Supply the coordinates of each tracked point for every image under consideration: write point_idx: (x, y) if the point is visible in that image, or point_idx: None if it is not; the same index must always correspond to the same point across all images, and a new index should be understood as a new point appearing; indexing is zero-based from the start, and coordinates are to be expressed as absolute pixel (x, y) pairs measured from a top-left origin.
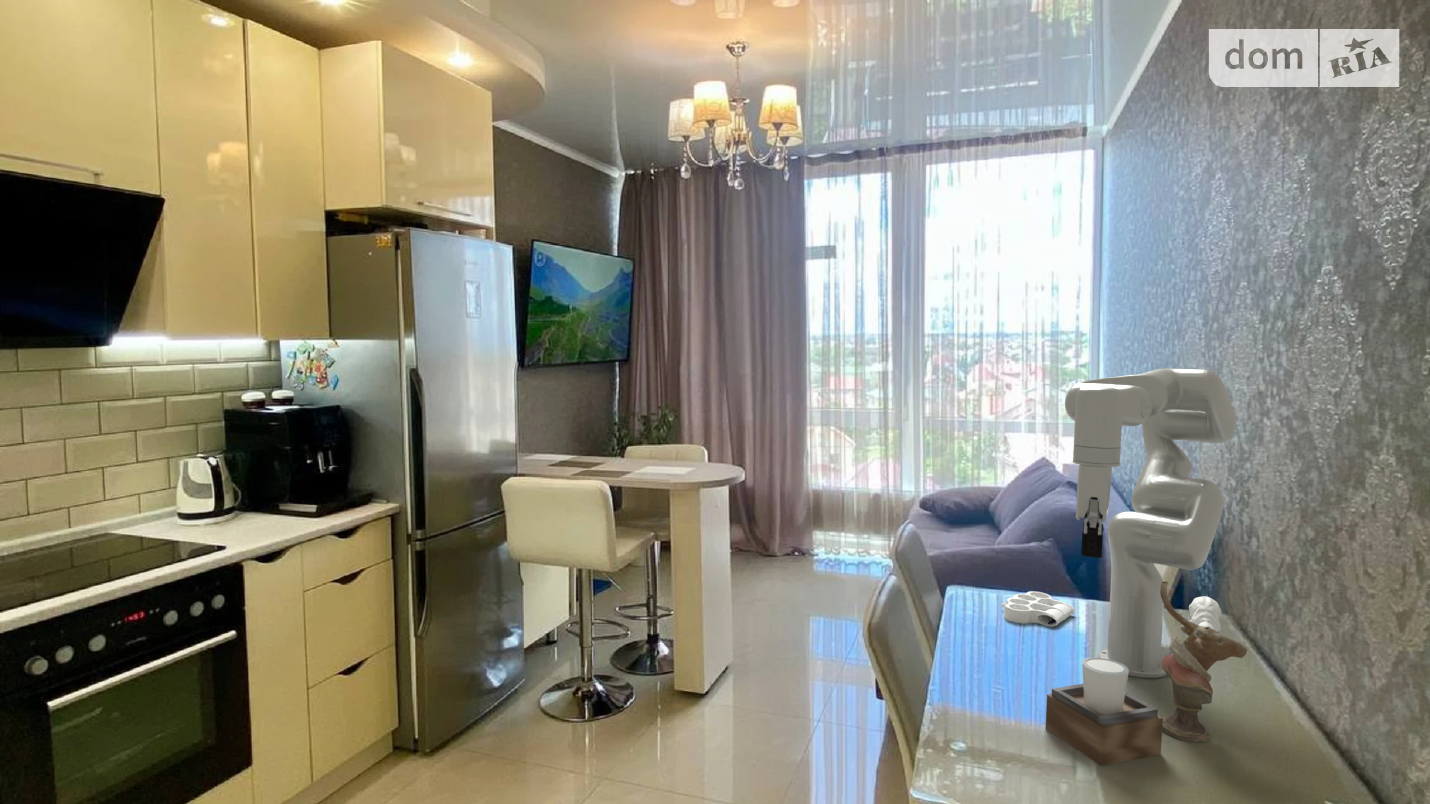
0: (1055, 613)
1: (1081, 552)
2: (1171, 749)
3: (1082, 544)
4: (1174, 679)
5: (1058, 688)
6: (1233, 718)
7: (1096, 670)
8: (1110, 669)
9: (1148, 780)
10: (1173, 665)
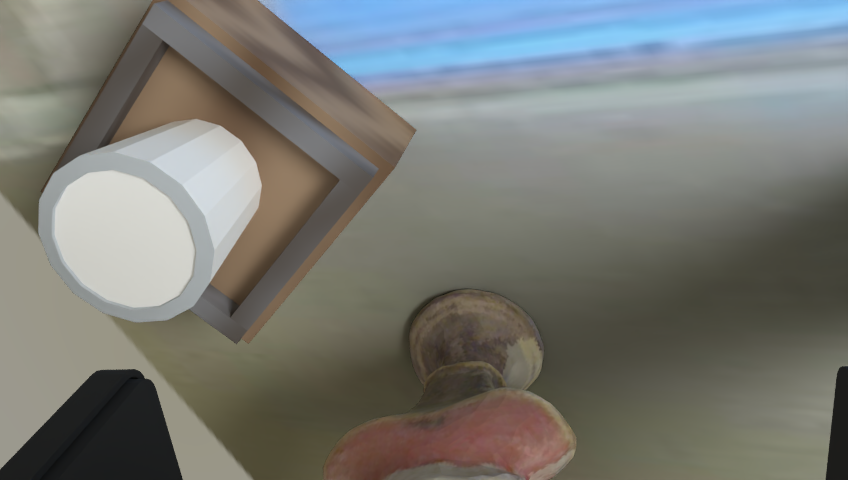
0: None
1: (86, 383)
2: (334, 312)
3: (18, 459)
4: (375, 424)
5: (174, 27)
6: (653, 463)
7: (46, 214)
8: (104, 261)
9: None
10: (414, 446)
